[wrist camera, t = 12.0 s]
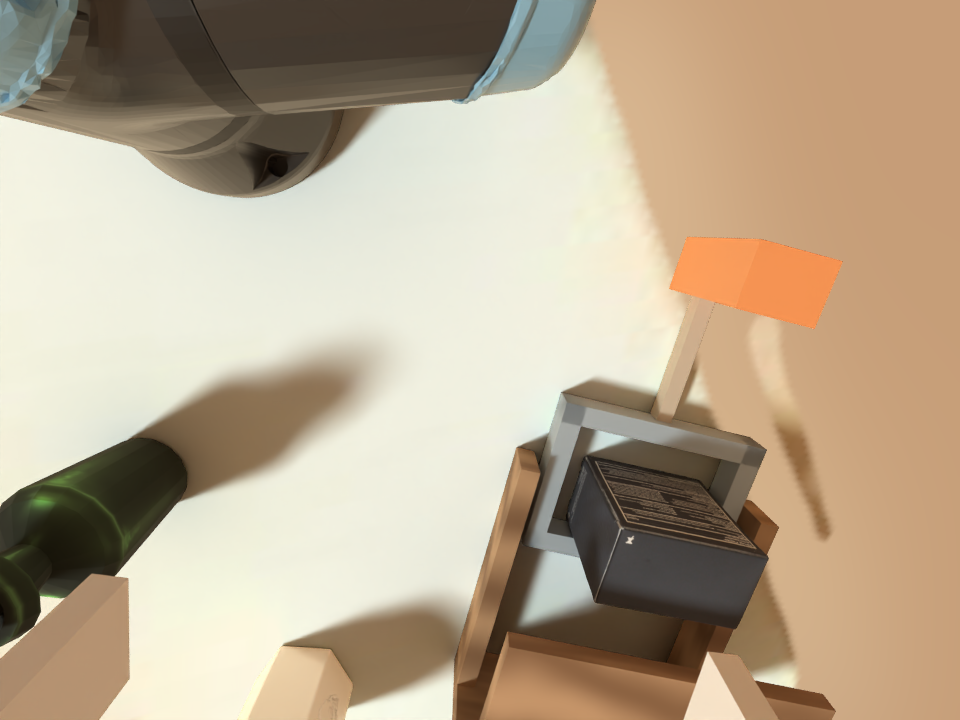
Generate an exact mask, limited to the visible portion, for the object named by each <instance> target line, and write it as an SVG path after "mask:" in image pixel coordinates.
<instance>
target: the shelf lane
mask: <svg viewBox="0 0 960 720" xmlns="http://www.w3.org/2000/svg"><path fill="white" fill-rule="evenodd" d="M540 474H541V473H540V470H539V467H538V463H537V460H536V456H535V453H534V451H531V450H527V449H522V448H518V447H517V448H516V451H515V455H514V458H513V461H512V465H511V468H510V472H509V475H508V479H507V482H506V485H505V489H504V492H503V496H502V499H501V503H500V506H499V509H498V513H497V516H496V520H495V523H494V526H493V530H492V533H491V537H490V540H489V544H488V547H487V550H486V554H485V557H484V561H483V564H482V567H481V571H480V574H479V578H478V581H477V585H476V588H475V591H474V595H473V598H472V602H471V605H470V609H469V612H468V615H467V619H466V622H465V626H464V629H463V632H462V636H461V639H460V643H459V646H458V650H457V653H456V656H455V661H454V688H453V715H452V720H684V717H685V714H686V711H687V708H688V706H689V703H690V700H691V697H692V694H693V692H694V689H695V686H696V683H697V680H698V677H699V675H700V672H701V669H702V666H703V663H704V661H705V658H706V655H707V652H716V653H723V652H724V649H725V647H726V645H727V643H728V640H729V638H730V636H731V634H732V631H733V629H730V628H725V627H720V626H715V625H710V624H705V623H700V622H695V621H690V620H684V622H683V624H682V627H681V629H680V631H679V634H678V636H677V639H676V641H675V643H674V646H673V648H672V651H671V653H670V655H669V658H668V660H667V663H664V662H659V661H654V660H649V659H644V658H639V657H634V656H629V655H624V654H619V653H614V652H609V651H604V650H598V649H593V648H588V647H583V646H578V645H573V644H568V643H563V642H558V641H553V640H548V639H543V638H538V637H533V636H528V635H523V634H518V633H513V632H508V631H507V635H506V638H505V641H504V644H503V647H502V650H501V653H500V655H498V654H493V653H488V652H486V648H487V645H488V642H489V639H490V635H491V632H492V629H493V626H494V623H495V619H496V616H497V613H498V610H499V606H500V603H501V600H502V597H503V593H504V590H505V587H506V584H507V580H508V577H509V574H510V571H511V567H512V564H513V561H514V558H515V555H516V551H517V548H518V545H519V542H520V538H521V535H522V532H523V529H524V525H525V522H526V519H527V516H528V512H529V509H530V506H531V503H532V500H533V496H534V493H535V490H536V487H537V483H538V480H539V477H540ZM736 523H737V524H738V526H739V527H740V528H741V529H742V530H743V531H744V532H745V533H746V535H748V537H749V538H750V539H751V540H752V541H753V542H754V543H755V544H756V545H757V546H758V547H759V548H760V549H761V550H762V551H763V552H764V553H765V554H766V555H767V553H768V551H769V549H770V546H771V544H772V542H773V540H774V538H775V535H776V533H777V531H778V529H779V527H778V526H777V525H776V524H775V523H774V522H773V521H772V520H771V519H770V518H769V517H768V516H767V515H765V513H764V512H762V510H760V509H759V508H758V507H757V506H756V505H755V504H754V503H753V502H752V501H750V500H746V501H745V503H744V505H743V508H742V510H741V513H740V515H739V517H738V520H737V522H736ZM755 682H756V684H757V685H758V687H759V688H760V690H761V692H762V693H763V695H764V696H765V698H766V700H767V701H768V703H769V704H770V706H771V708H772V709H773V711H774V713H775V714H776V716H777V717H778V719H779V720H832V718H833V716H834V714H835V712H836V711H835V709H834V708H833V707H832V706H831V704H830V703H829V702H828V700H827V699H826V698H825V697H824V695H823V694H820V693H815V692H809V691H804V690H800V689H794V688H789V687H784V686H779V685H774V684H769V683H764V682H759V681H755Z"/></svg>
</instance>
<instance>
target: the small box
mask: <svg viewBox="0 0 960 720" xmlns="http://www.w3.org/2000/svg"><path fill="white" fill-rule="evenodd" d="M566 518H567V520H568V523H569V526H570V529H571V532H572V535H573V538H574V541H575V544H576V547H577V550H578V553H579V556H580V559H581V562H582V565H583V568H584V571H585V574H586V578H587V580H588V583H589V586H590V589H591V592H592V595H593V599H594V602H595V603H600V604H605V605H611V606H615V607H621V608H626V609H632V610H637V611H643V612H648V613H653V614H658V615H664V616H669V617H674V618H679V619H684V620H690V621H695V622H700V623H705V624H710V625H715V626H720V627H725V628H730V629H736V628H737V626H738V624H739V622H740V621H741V618H742V616H743V614H744V612H745V610H746V607H747V605H748V603H749V601H750V599H751V597H752V594H753V592H754V590H755V588H756V586H757V583H758V581H759V579H760V577H761V574H762V572H763V570H764V567H765V565H766V563H767V561H768V559H769V558H768V556H767V555H766V554H765V553H764V552H763V551H762V550H761V549H760V548H759V547H758V546H757V545H756V544H755V543H754V542H753V541H752V540H751V539H750V538H749V537H748V535H746V533H745V532H744V531H743V530H742V529H741V528H740V527H739V526H738V524H737V523H736V522H735V521H734V520H733V519H732V518H731V516H730V515H729V514H728V513H727V512H726V511H725V510H724V508H723V507H722V506H721V505H720V504H719V503H718V502H717V500H716V499H715V498H714V497H713V496H712V495H711V493H710V492H709V491H708V490H707V489H706V487H705V486H704V485H703V484H702V482H701V481H700V480H697V479H692V478H687V477H683V476H679V475H674V474H670V473H665V472H661V471H656V470H652V469H647V468H642V467H638V466H634V465H629V464H624V463H620V462H615V461H611V460H606V459H601V458H596V457H591V456H588V455H587V456H585V457H584V458H583V461H582V465H581V470H580V471H579V476H578V479H577V482H576V486H575V489H574V490H573V495H572V498H571V499H570V502H569V506H568V511H567V514H566Z"/></svg>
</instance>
